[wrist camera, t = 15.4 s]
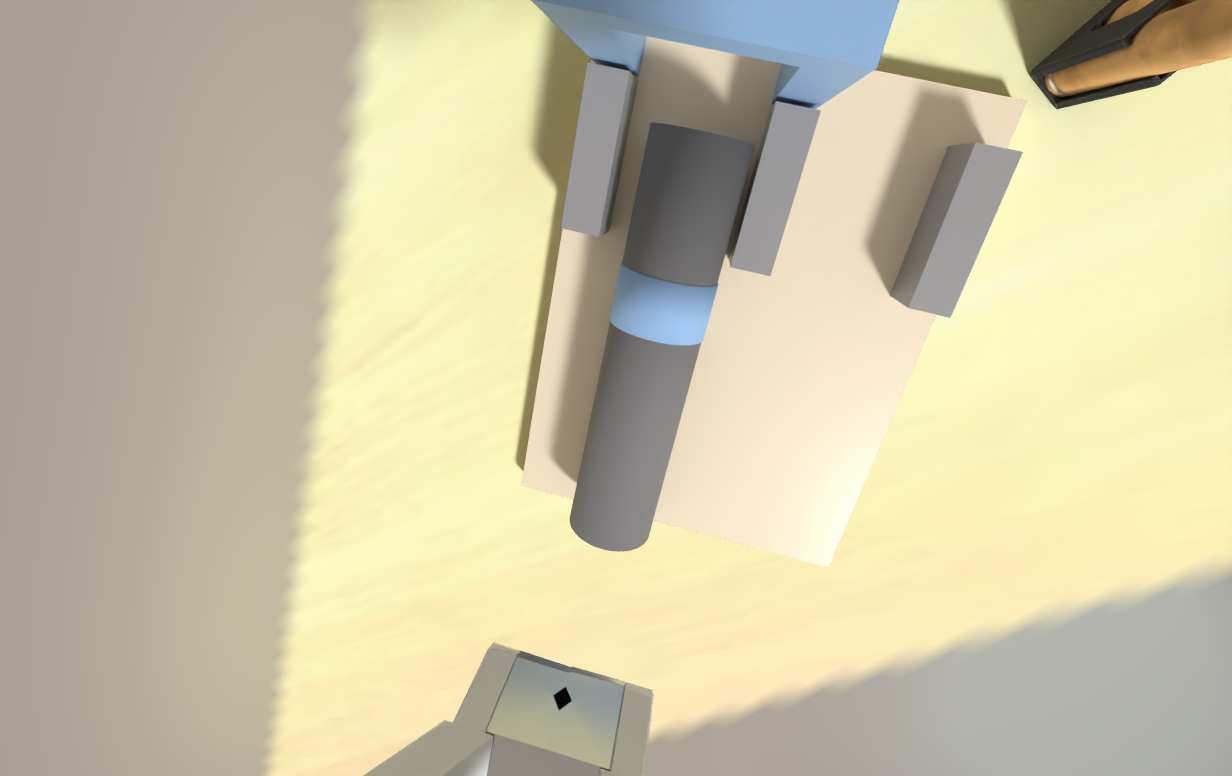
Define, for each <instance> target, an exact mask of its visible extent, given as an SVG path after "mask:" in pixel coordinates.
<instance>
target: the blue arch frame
mask: <svg viewBox="0 0 1232 776" xmlns="http://www.w3.org/2000/svg"><path fill="white" fill-rule="evenodd" d="M531 1H532V2H533V3H534V4H535V5H536V6H537V7H538V8H539V9H540V10H542V11H543V12H544V13H545V14H546V15H547V16H548V17H549V18H550V19H551V20H552V21H553V22H554V23H555V24H556V25H557V26H558V27H559V28H560V29H561V30H562V31H563V32H564V33H565V34H566V35H567V36H568V37H569V38H570V39H571V40H572V41H573V42H574V43H575V44H576V45H577V46H578V47H579V48H580V49H582V50H583V51H584V52H585V53H586V54H587V55H588V56H589V57H590V58H591V59H592V60H593V61H594V62H595V63H596V64H598V65H603V66H608V67H613V68H618V69H623V70H628V71H630V72H631V73H632V75H636V76H639V74H640V69H641V63H642V58H643V53H644V48H645V43H646V37H647V36H648V37H653V38H658V39H663V40H668V41H673V42H678V43H683V44H688V45H693V46H697V47H702V48H707V49H712V50H717V51H722V52H727V53H732V54H737V55H742V56H747V57H752V58H757V59H762V60H767V61H772V62H777V63H782V67H781V70H780V74H779V78H778V81H777V85H776V88H775V92H774V96H773V99H772V103H771V104H774V103H775V102H776V101H778V102H783V103H787V104H792V105H797V106H802V107H807V108H812V109H817V108H818V107H820V106H821V105H823V104H824V103H826V102H827V101H829V100H830V99H832V98H833V97H835V96H836V95H838V94H839V93H841V92H842V91H844V90H845V89H847V88H848V87H850V86H851V85H853V84H854V83H856V82H857V81H859V80H860V79H862V78H863V77H865V76H866V75H868V74H869V73H871V72H872V71H874V70H875V69H877V66H878V63H879V60H880V57H881V54H882V51H883V48H884V45H885V42H886V39H887V36H888V33H889V30H890V27H891V24H892V21H893V18H894V15H895V12H896V9H897V6H898V3H899V0H531Z"/></svg>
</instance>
